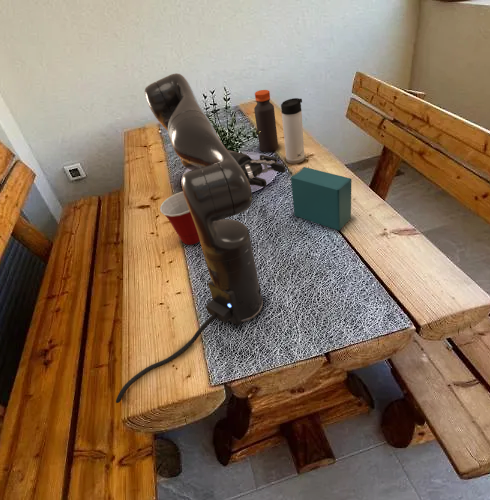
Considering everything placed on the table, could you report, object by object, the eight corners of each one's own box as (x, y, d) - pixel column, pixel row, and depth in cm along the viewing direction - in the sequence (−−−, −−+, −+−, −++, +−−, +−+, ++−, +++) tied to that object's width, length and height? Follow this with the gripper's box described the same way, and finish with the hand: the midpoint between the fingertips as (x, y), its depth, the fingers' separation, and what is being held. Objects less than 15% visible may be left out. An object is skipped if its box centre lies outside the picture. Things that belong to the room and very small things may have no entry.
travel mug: (304, 163, 128) (300, 103, 116) (285, 164, 130) (278, 104, 117) (306, 154, 133) (303, 95, 120) (287, 155, 135) (282, 97, 122)
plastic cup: (173, 229, 110) (161, 193, 102) (211, 223, 109) (201, 186, 102) (170, 254, 101) (156, 217, 94) (211, 247, 101) (200, 209, 93)
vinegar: (281, 148, 139) (275, 91, 127) (265, 154, 138) (257, 97, 125) (273, 142, 144) (266, 87, 132) (256, 148, 142) (248, 92, 130)
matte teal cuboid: (339, 230, 99) (338, 190, 91) (294, 215, 107) (290, 177, 99) (350, 218, 102) (351, 178, 94) (306, 204, 110) (303, 166, 102)
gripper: (213, 163, 110) (257, 176, 101) (245, 142, 118) (289, 152, 109) (218, 186, 115) (261, 200, 106) (249, 164, 122) (291, 176, 113)
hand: (275, 176), depth 107 cm, fingers open, 8 cm apart
